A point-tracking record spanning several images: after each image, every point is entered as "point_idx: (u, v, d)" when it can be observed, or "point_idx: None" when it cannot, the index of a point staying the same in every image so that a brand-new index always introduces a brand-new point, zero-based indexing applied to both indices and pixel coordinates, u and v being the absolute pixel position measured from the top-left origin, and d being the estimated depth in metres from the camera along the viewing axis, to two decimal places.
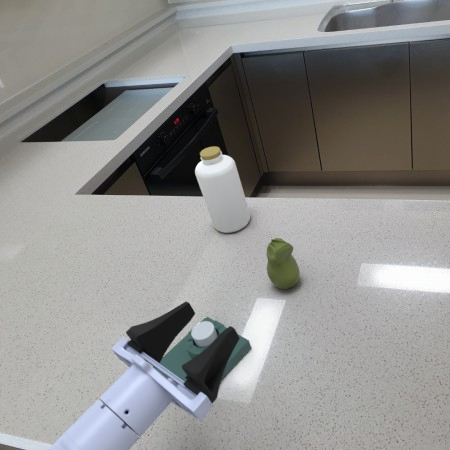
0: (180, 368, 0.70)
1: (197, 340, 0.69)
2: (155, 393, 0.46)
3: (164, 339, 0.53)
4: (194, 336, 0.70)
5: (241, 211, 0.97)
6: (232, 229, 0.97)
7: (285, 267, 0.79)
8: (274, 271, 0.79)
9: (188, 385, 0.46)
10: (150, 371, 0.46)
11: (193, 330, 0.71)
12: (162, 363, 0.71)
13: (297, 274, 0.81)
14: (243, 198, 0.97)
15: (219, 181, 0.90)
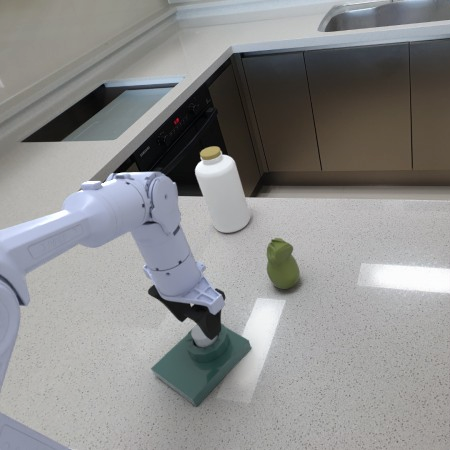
0: (180, 368, 0.70)
1: (197, 340, 0.69)
2: (197, 275, 0.60)
3: None
4: (194, 336, 0.70)
5: (241, 211, 0.97)
6: (232, 229, 0.97)
7: (285, 267, 0.79)
8: (274, 271, 0.79)
9: None
10: (201, 272, 0.62)
11: (193, 330, 0.71)
12: (162, 363, 0.71)
13: (297, 274, 0.81)
14: (243, 198, 0.97)
15: (219, 181, 0.90)
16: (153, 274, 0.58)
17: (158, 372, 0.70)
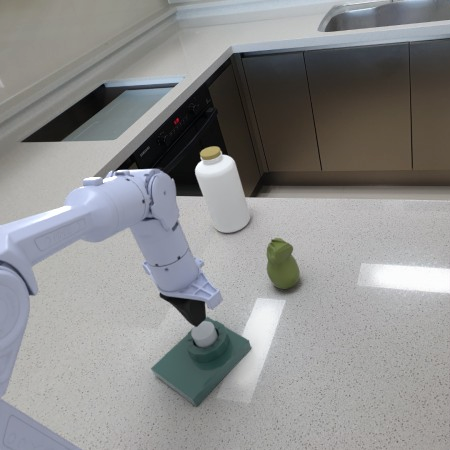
0: (180, 368, 0.70)
1: (197, 340, 0.69)
2: (195, 271, 0.61)
3: None
4: (194, 336, 0.70)
5: (241, 211, 0.97)
6: (232, 229, 0.97)
7: (285, 267, 0.79)
8: (274, 271, 0.79)
9: None
10: (200, 268, 0.63)
11: (193, 330, 0.71)
12: (162, 363, 0.71)
13: (297, 274, 0.81)
14: (243, 198, 0.97)
15: (219, 181, 0.90)
16: (152, 270, 0.59)
17: (158, 372, 0.70)
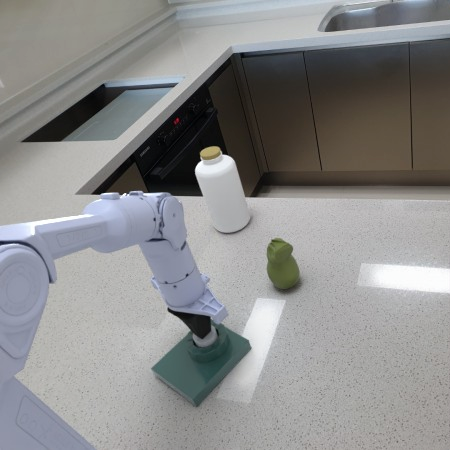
0: (180, 368, 0.70)
1: (199, 344, 0.70)
2: (202, 287, 0.64)
3: None
4: (196, 339, 0.70)
5: (241, 211, 0.97)
6: (232, 229, 0.97)
7: (285, 267, 0.79)
8: (274, 271, 0.79)
9: None
10: (206, 283, 0.66)
11: None
12: (162, 363, 0.71)
13: (297, 274, 0.81)
14: (243, 198, 0.97)
15: (219, 181, 0.90)
16: (161, 286, 0.62)
17: (158, 372, 0.70)
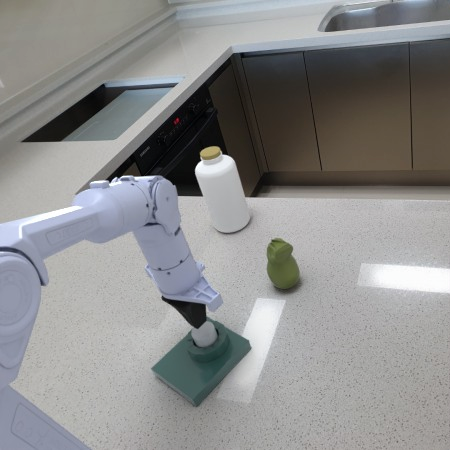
0: (180, 368, 0.70)
1: (197, 340, 0.69)
2: (196, 275, 0.63)
3: None
4: (194, 336, 0.70)
5: (241, 211, 0.97)
6: (232, 229, 0.97)
7: (285, 267, 0.79)
8: (274, 271, 0.79)
9: None
10: (201, 271, 0.65)
11: (193, 330, 0.71)
12: (162, 363, 0.71)
13: (297, 274, 0.81)
14: (243, 198, 0.97)
15: (219, 181, 0.90)
16: (154, 273, 0.60)
17: (158, 372, 0.70)
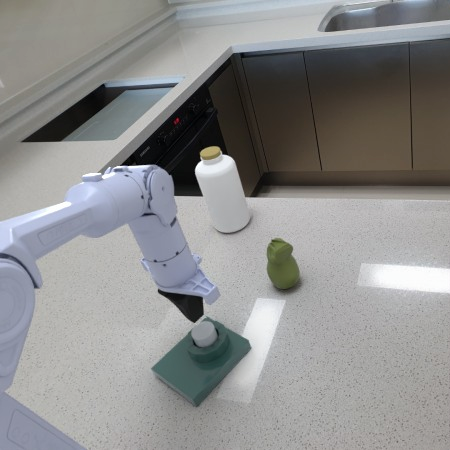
0: (180, 368, 0.70)
1: (197, 340, 0.69)
2: (193, 267, 0.62)
3: None
4: (194, 336, 0.70)
5: (241, 211, 0.97)
6: (232, 229, 0.97)
7: (285, 267, 0.79)
8: (274, 271, 0.79)
9: None
10: (198, 264, 0.64)
11: (193, 330, 0.71)
12: (162, 363, 0.71)
13: (297, 274, 0.81)
14: (243, 198, 0.97)
15: (219, 181, 0.90)
16: (150, 265, 0.59)
17: (158, 372, 0.70)
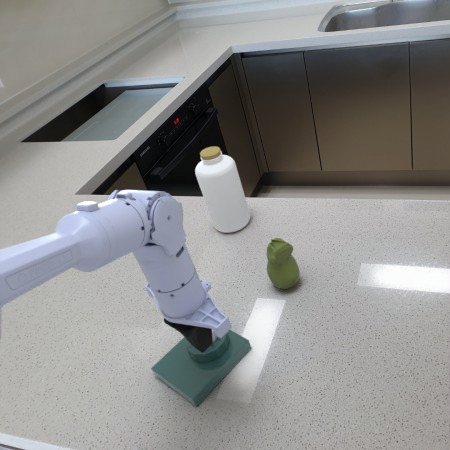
0: (180, 368, 0.70)
1: None
2: (202, 296, 0.58)
3: None
4: None
5: (241, 211, 0.97)
6: (232, 229, 0.97)
7: (285, 267, 0.79)
8: (274, 271, 0.79)
9: None
10: (207, 291, 0.60)
11: None
12: (162, 363, 0.71)
13: (297, 274, 0.81)
14: (243, 198, 0.97)
15: (219, 181, 0.90)
16: (156, 295, 0.55)
17: (158, 372, 0.70)
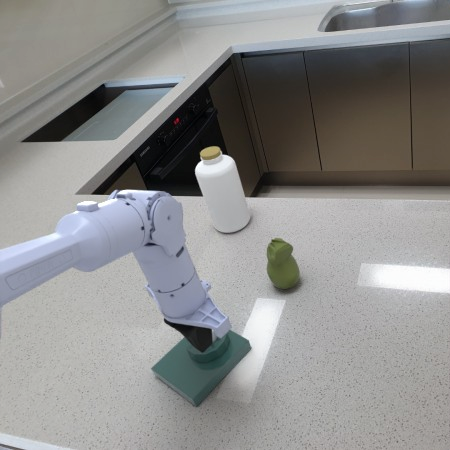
0: (180, 368, 0.70)
1: None
2: (202, 296, 0.58)
3: None
4: None
5: (241, 211, 0.97)
6: (232, 229, 0.97)
7: (285, 267, 0.79)
8: (274, 271, 0.79)
9: None
10: (207, 291, 0.60)
11: None
12: (162, 363, 0.71)
13: (297, 274, 0.81)
14: (243, 198, 0.97)
15: (219, 181, 0.90)
16: (156, 295, 0.55)
17: (158, 372, 0.70)
